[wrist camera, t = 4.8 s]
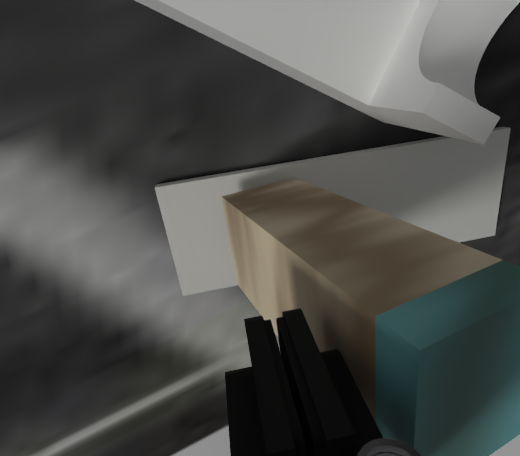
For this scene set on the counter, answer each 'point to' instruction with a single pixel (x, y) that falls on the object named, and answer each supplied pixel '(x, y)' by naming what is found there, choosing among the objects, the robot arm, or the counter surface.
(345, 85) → the bracket
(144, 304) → the counter surface
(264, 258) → the maple block
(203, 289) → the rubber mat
